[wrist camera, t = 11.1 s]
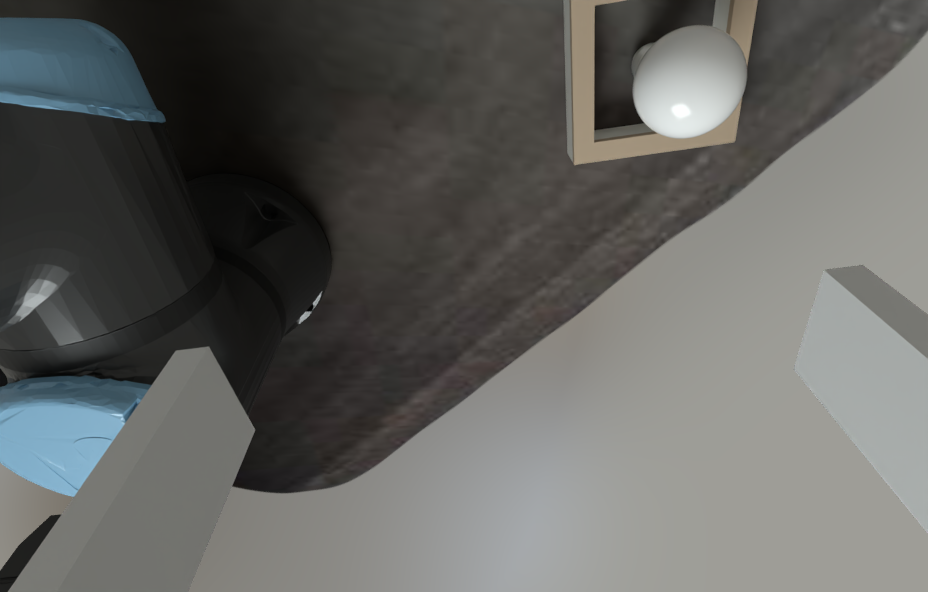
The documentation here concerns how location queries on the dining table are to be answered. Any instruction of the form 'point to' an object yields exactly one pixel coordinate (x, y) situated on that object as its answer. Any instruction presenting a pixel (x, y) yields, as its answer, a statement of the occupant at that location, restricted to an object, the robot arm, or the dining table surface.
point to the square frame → (635, 140)
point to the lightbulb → (688, 81)
